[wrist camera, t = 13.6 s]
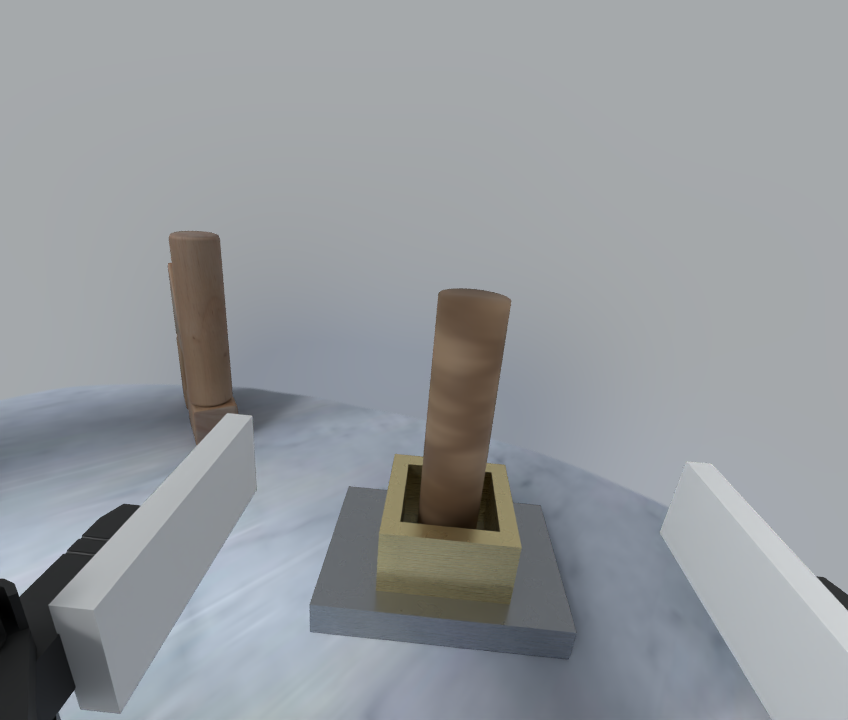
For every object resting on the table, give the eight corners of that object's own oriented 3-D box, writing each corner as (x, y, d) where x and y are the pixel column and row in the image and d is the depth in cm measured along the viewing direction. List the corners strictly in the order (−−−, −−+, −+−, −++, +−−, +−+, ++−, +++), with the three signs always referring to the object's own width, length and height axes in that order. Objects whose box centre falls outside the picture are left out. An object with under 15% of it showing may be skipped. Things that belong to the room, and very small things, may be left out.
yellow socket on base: (310, 631, 24) (308, 545, 22) (348, 508, 34) (350, 439, 32) (569, 659, 24) (593, 574, 22) (535, 527, 34) (550, 458, 31)
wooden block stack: (220, 392, 49) (205, 221, 43) (241, 440, 41) (225, 237, 35) (183, 397, 48) (160, 220, 41) (196, 449, 39) (170, 236, 33)
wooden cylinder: (413, 567, 27) (437, 302, 21) (417, 524, 30) (439, 286, 24) (474, 574, 26) (516, 309, 21) (471, 530, 30) (506, 292, 24)
